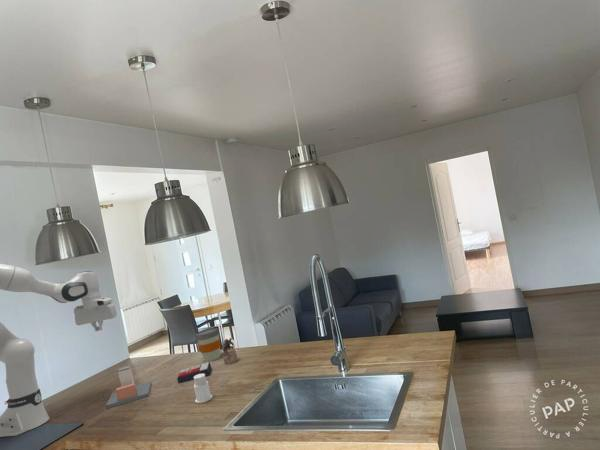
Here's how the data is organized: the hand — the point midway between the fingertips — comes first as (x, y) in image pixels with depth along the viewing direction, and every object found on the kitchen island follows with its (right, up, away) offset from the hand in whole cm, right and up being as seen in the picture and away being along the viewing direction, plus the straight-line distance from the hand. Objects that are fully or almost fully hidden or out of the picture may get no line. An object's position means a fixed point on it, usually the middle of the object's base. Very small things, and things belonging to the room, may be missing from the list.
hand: (98, 330), depth 218 cm
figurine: (+64, -18, +8) cm, 67 cm away
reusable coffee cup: (+52, -21, +22) cm, 60 cm away
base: (+20, -28, -12) cm, 36 cm away
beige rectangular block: (+20, -26, -12) cm, 35 cm away
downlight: (+60, -20, -37) cm, 73 cm away
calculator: (+48, -22, -3) cm, 53 cm away
